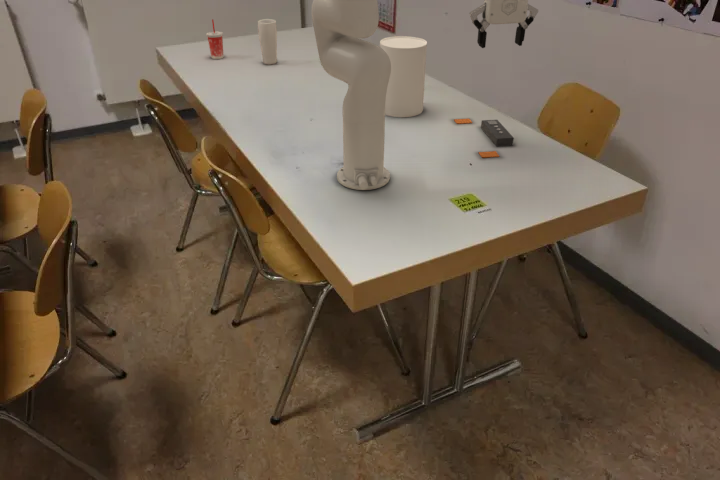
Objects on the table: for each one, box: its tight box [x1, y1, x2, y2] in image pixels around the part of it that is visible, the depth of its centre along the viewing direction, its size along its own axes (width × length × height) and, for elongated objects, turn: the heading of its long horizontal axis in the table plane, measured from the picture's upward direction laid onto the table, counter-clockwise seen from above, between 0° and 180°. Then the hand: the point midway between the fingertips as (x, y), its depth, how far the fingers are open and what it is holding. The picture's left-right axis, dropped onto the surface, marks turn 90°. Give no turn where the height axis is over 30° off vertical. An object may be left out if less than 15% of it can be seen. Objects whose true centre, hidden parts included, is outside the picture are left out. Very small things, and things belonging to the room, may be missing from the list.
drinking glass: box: [257, 18, 278, 65], centre depth 211 cm, size 7×7×15 cm
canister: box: [379, 35, 428, 118], centre depth 170 cm, size 14×14×20 cm
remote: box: [480, 119, 515, 147], centre depth 157 cm, size 13×5×2 cm, turn 8°
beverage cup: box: [205, 18, 225, 60], centre depth 217 cm, size 6×6×14 cm
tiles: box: [453, 118, 500, 159], centre depth 157 cm, size 26×5×1 cm, turn 8°
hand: (500, 45), depth 145 cm, fingers open, 9 cm apart
